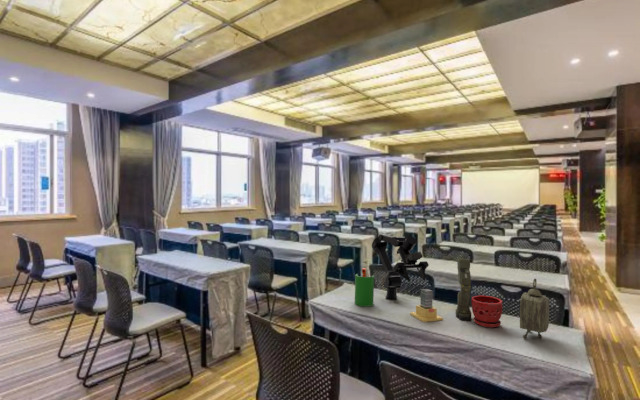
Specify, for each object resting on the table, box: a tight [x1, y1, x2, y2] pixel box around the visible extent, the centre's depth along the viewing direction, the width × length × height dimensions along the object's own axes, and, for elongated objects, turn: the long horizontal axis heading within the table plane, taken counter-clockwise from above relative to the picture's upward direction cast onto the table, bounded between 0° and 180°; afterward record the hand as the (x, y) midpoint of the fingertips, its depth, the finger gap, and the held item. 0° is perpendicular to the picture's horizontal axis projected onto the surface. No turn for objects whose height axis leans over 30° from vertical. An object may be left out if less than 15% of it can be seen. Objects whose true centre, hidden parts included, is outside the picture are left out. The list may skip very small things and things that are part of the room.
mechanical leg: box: [455, 257, 472, 322], centre depth 171 cm, size 14×7×30 cm, turn 169°
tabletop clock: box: [519, 278, 550, 340], centre depth 146 cm, size 14×9×25 cm, turn 141°
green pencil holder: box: [354, 267, 375, 307], centre depth 186 cm, size 10×9×20 cm
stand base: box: [409, 304, 443, 323], centre depth 168 cm, size 11×11×5 cm
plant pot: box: [470, 295, 503, 329], centre depth 160 cm, size 13×13×12 cm
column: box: [419, 288, 434, 309], centre depth 168 cm, size 4×4×12 cm
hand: (417, 280), depth 175 cm, fingers open, 9 cm apart
